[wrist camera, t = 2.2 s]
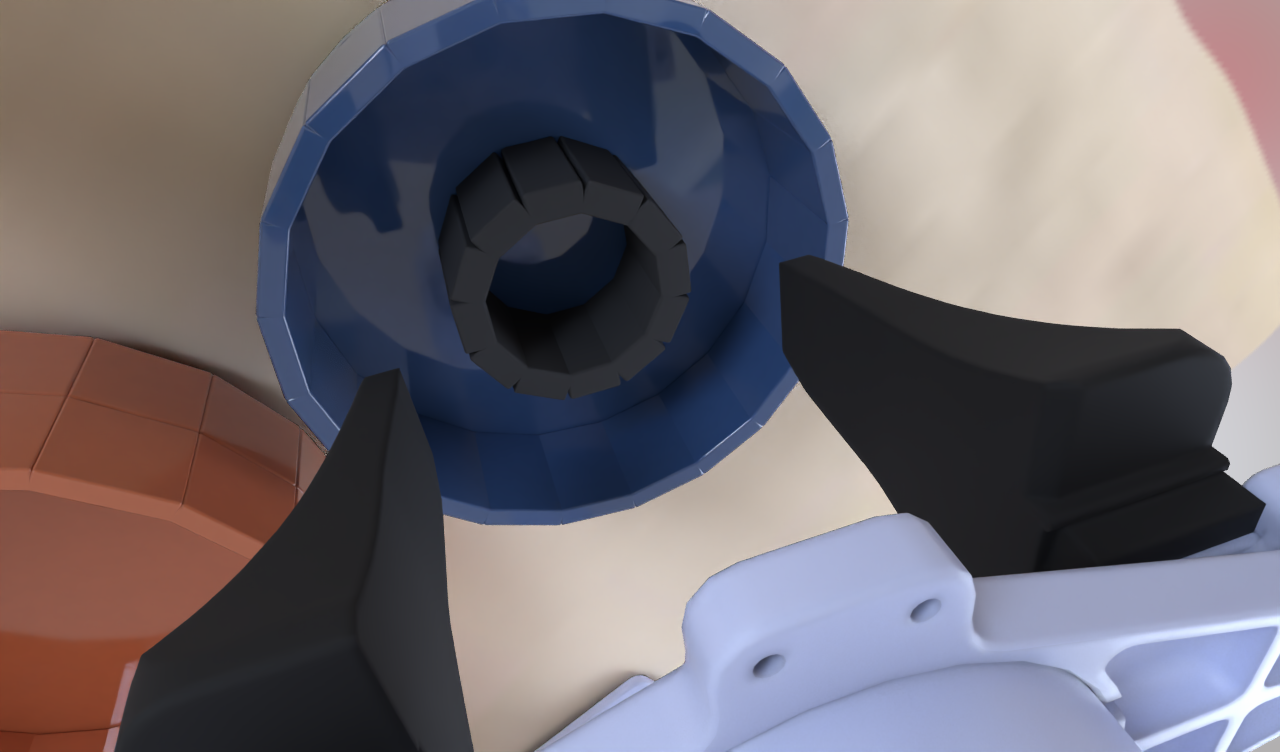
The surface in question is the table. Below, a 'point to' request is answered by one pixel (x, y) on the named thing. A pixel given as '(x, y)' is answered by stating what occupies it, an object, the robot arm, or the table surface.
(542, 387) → the ring
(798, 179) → the blue round dish
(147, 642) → the bowl
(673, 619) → the table surface
